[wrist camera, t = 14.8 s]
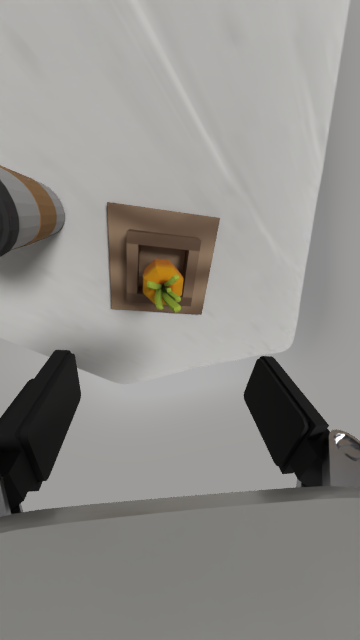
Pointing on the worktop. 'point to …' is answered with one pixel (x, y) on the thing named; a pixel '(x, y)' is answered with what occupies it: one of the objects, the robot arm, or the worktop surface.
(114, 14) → the worktop surface
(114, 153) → the worktop surface
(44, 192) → the coffee cup
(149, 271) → the carrot
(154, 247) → the walnut stand
